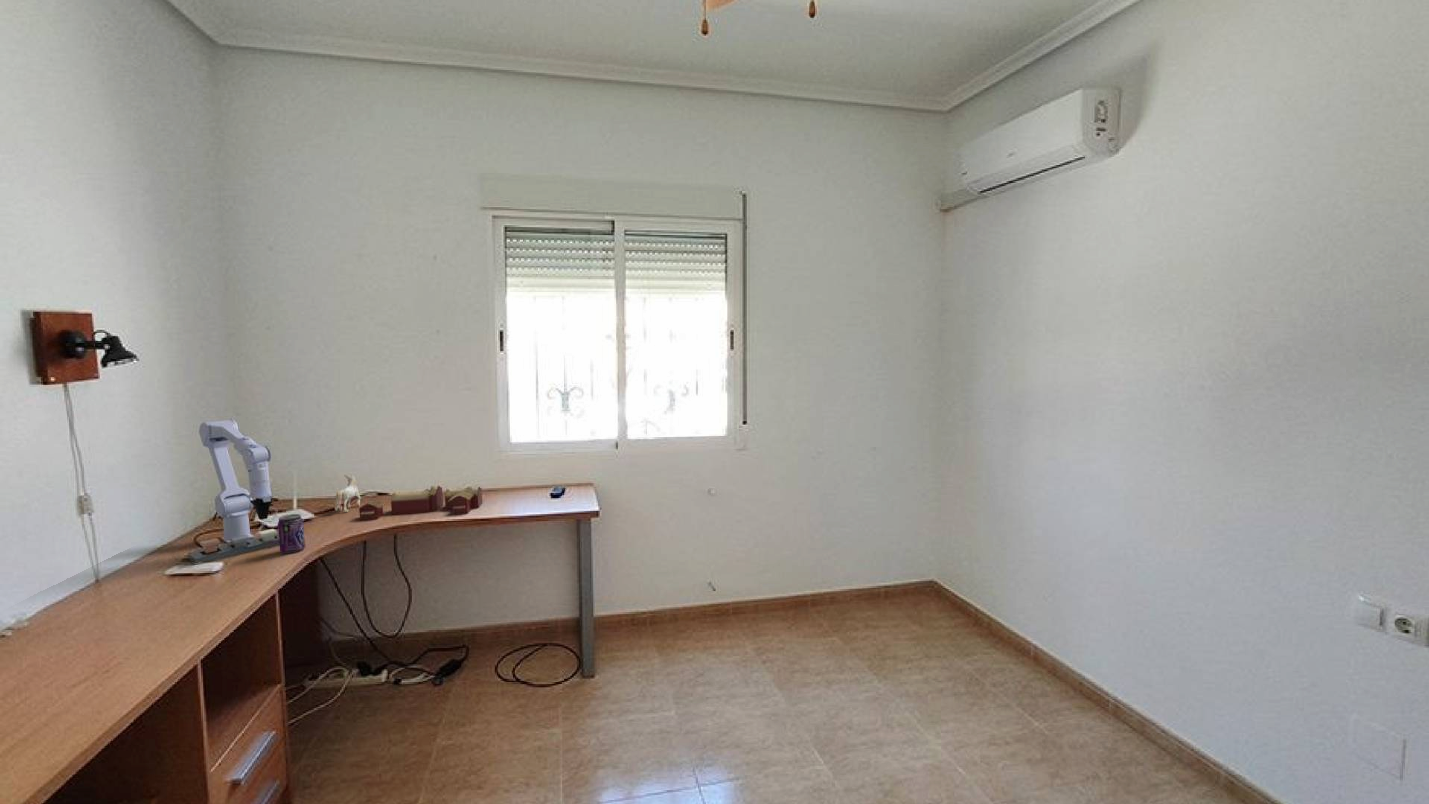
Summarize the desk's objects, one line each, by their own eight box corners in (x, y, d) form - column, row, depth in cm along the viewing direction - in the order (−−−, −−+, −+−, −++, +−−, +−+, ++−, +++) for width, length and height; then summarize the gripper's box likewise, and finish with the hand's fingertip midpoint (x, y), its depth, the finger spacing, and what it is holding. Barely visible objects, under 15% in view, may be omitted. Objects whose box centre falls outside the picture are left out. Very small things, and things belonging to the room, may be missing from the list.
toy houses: (483, 502, 266) (482, 479, 265) (473, 514, 245) (472, 490, 244) (373, 509, 258) (372, 486, 257) (354, 523, 238) (351, 498, 237)
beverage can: (292, 554, 202) (289, 520, 201) (275, 553, 203) (271, 519, 202) (310, 547, 209) (307, 514, 207) (293, 546, 210) (290, 513, 209)
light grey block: (231, 547, 207) (229, 537, 207) (246, 543, 211) (245, 534, 210) (234, 550, 205) (233, 540, 204) (250, 546, 208) (249, 536, 208)
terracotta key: (200, 551, 201) (199, 541, 201) (217, 547, 204) (216, 538, 204) (203, 554, 198) (202, 544, 198) (220, 550, 202) (219, 540, 201)
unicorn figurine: (364, 502, 270) (362, 473, 268) (353, 513, 251) (351, 482, 250) (346, 504, 268) (343, 474, 266) (334, 515, 249) (331, 484, 248)
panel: (188, 558, 201) (188, 552, 201) (281, 537, 221) (280, 532, 221) (195, 564, 195) (194, 558, 194) (289, 543, 214) (289, 537, 214)
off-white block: (259, 541, 213) (258, 531, 213) (274, 537, 217) (273, 528, 216) (262, 543, 211) (261, 534, 210) (277, 540, 214) (276, 531, 214)
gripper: (239, 480, 212) (243, 518, 214) (251, 486, 203) (255, 525, 205) (263, 477, 218) (267, 513, 219) (276, 482, 209) (280, 520, 210)
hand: (263, 519), depth 212 cm, fingers closed
